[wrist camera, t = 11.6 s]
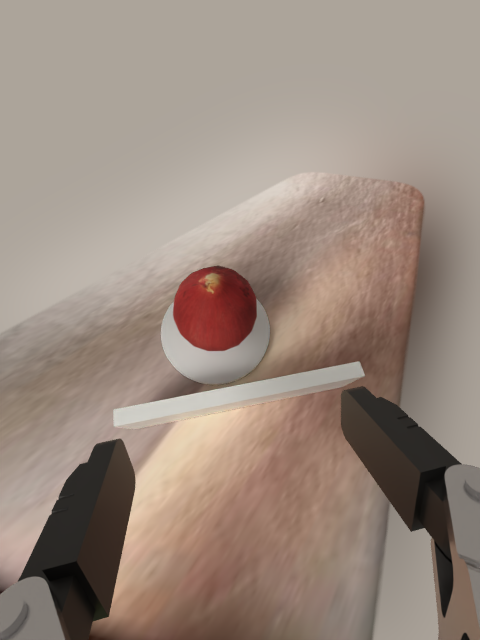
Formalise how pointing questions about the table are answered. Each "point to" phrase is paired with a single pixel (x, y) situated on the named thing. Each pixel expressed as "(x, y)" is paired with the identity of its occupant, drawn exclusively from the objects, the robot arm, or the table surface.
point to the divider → (236, 396)
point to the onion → (215, 308)
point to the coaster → (215, 352)
